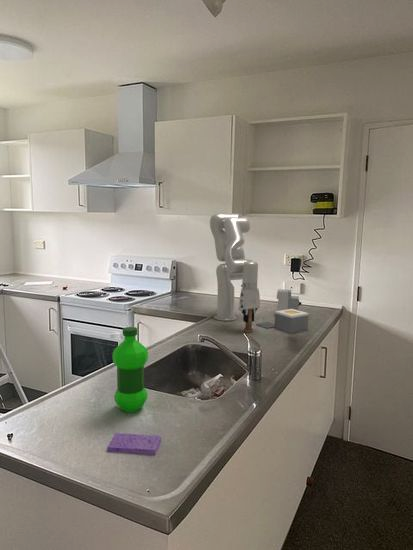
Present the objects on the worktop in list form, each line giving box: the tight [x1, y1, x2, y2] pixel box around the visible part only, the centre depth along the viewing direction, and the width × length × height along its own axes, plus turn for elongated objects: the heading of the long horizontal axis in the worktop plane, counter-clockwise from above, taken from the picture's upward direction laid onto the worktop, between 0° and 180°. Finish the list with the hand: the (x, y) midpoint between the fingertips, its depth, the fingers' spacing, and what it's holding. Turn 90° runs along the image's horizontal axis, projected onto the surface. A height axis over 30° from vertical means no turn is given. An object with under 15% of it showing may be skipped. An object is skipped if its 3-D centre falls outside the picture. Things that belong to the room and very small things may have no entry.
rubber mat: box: [255, 321, 275, 330], centre depth 225 cm, size 9×9×1 cm
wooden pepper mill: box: [243, 309, 254, 333], centre depth 213 cm, size 4×4×14 cm
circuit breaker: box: [275, 288, 302, 311], centre depth 247 cm, size 8×14×15 cm, turn 78°
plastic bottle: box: [111, 326, 149, 413], centre depth 126 cm, size 10×10×25 cm
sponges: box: [106, 432, 162, 456], centre depth 108 cm, size 7×13×2 cm, turn 84°
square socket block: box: [274, 309, 309, 334], centre depth 218 cm, size 12×12×9 cm
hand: (248, 321), depth 213 cm, fingers closed on wooden pepper mill, 3 cm apart
